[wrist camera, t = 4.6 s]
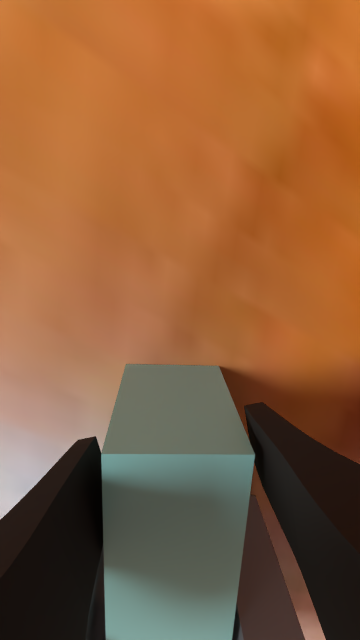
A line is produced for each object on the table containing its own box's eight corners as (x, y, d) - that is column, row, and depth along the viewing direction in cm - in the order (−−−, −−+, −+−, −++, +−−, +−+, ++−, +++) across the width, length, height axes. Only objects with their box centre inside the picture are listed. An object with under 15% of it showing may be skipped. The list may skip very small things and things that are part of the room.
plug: (218, 365, 14) (254, 454, 9) (203, 544, 17) (224, 700, 11) (126, 363, 14) (101, 454, 8) (125, 545, 17) (107, 705, 11)
